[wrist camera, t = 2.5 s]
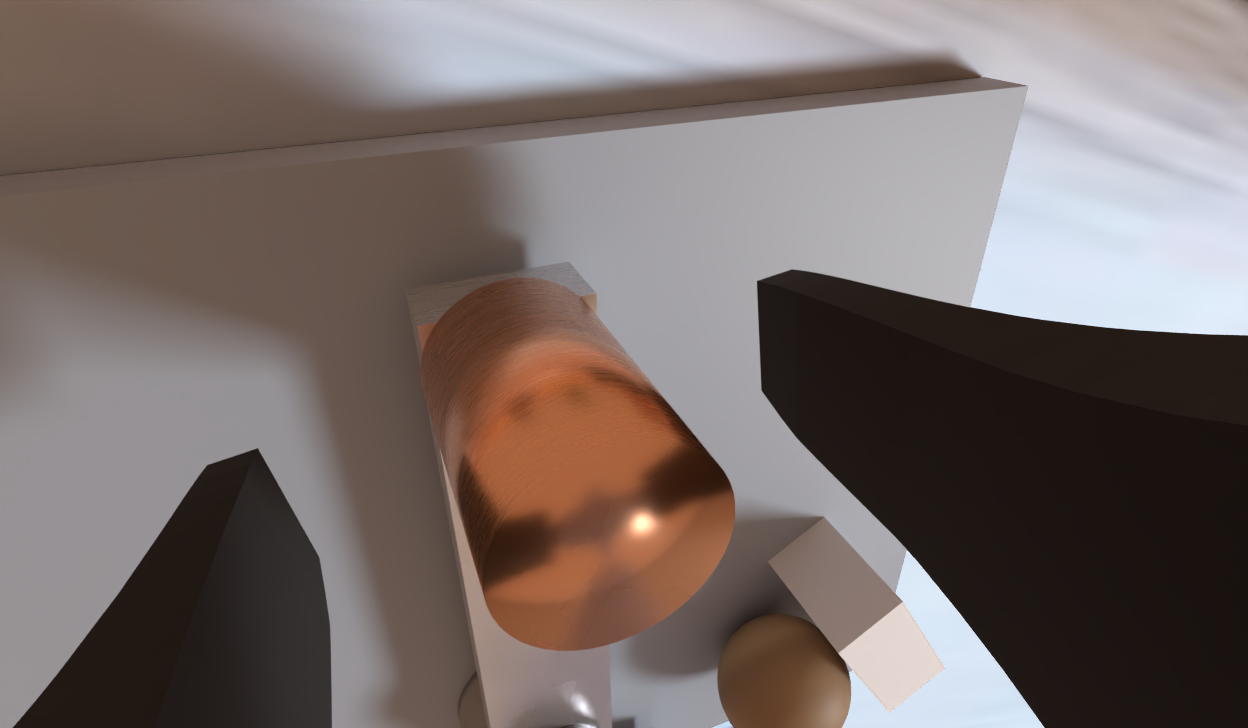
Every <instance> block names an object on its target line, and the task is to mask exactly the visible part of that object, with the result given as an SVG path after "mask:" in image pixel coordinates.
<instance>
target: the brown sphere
mask: <svg viewBox="0 0 1248 728" xmlns="http://www.w3.org/2000/svg"><path fill="white" fill-rule="evenodd" d="M717 684H718V692H719V697H720V701H721V704H722V707H723V710H724V712H725V714H726V716H727V718H728V720H729V721H730V723H731V724H732V726H733V727H734V728H842V726H843V724H844V722H845V720H846V717H847V715H848V711H849V707H850V701H851V681H850V676H849V672H848V668H847V665H846V663H845V661H844V659H843V658H842V657H841V656H840V655H839V654H838V652H837V651H836V650H835V648H834V647H833V646H832V645H831V643H830V642H829V641H828V639H827V638H826V637H825V635H824V634H823V633H822V632H821V630H820V629H819V628H818V627H817V626H815V625H814V624H812V623H811V622H809V621H807V620H805V619H802V618H800V617H796V616H793V615H787V614H770V615H764V616H761V617H758V618H755V619H753V620H751V621H749V622H747V623H746V624H744V625H743V626H741V627H740V628H739V629H738V630H737V631H736V632H735V633H734V634H733V635H732V636H731V638H730V639H729V640H728V642H727V644H726V646H725V648H724V650H723V652H722V654H721V658H720V661H719V666H718V673H717Z"/></svg>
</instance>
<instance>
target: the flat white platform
mask: <svg viewBox="0 0 1248 728" xmlns="http://www.w3.org/2000/svg"><path fill="white" fill-rule="evenodd" d="M1027 89H1028V86H1026V85H1021V84H1016V83H1011V82H1006V81H1001V80H996V79H991V78H986V77H982V78H972V79H962V80H952V81H942V82H932V83H922V84H912V85H902V86H892V87H882V88H873V89H863V90H853V91H843V92H833V93H823V94H813V95H803V96H793V97H783V98H773V99H763V100H753V101H743V102H733V103H723V104H713V105H703V106H693V107H683V108H673V109H663V110H653V111H643V112H633V113H623V114H613V115H603V116H593V117H583V118H573V119H563V120H553V121H543V122H533V123H523V124H513V125H503V126H493V127H483V128H473V129H463V130H453V131H443V132H433V133H423V134H413V135H403V136H393V137H383V138H373V139H363V140H353V141H343V142H333V143H323V144H313V145H303V146H293V147H283V148H273V149H263V150H253V151H243V152H233V153H223V154H213V155H203V156H193V157H183V158H173V159H163V160H153V161H143V162H133V163H123V164H113V165H103V166H93V167H83V168H73V169H63V170H53V171H43V172H33V173H23V174H13V175H3V176H0V728H13V727H14V726H15V724H16V723H17V722H18V721H19V720H20V718H21V717H22V716H23V715H24V714H25V713H26V711H27V710H28V709H29V708H30V707H31V705H32V704H33V703H34V702H35V701H36V699H37V698H38V697H39V696H40V695H41V693H42V692H43V691H44V690H45V689H46V687H47V686H48V685H49V684H50V682H51V681H52V680H53V679H54V677H55V676H56V675H57V674H58V672H59V671H60V670H61V668H62V667H63V666H64V665H65V663H66V662H67V661H68V659H69V658H70V657H71V655H72V654H73V653H74V651H75V650H76V649H77V647H78V646H79V645H80V643H81V642H82V641H83V639H84V638H85V637H86V636H87V634H88V633H89V632H90V630H91V629H92V628H93V626H94V625H95V624H96V622H97V621H98V620H99V618H100V617H101V616H102V614H103V613H104V612H105V610H106V609H107V608H108V607H109V605H110V604H111V603H112V601H113V600H114V599H115V597H116V596H117V595H118V593H119V592H120V590H121V589H122V588H123V586H124V585H125V583H126V582H127V580H128V579H129V577H130V576H131V575H132V573H133V572H134V570H135V569H136V567H137V566H138V564H139V563H140V562H141V560H142V559H143V557H144V556H145V554H146V553H147V551H148V550H149V549H150V547H151V546H152V544H153V543H154V541H155V540H156V538H157V537H158V535H159V534H160V532H161V531H162V530H163V528H164V527H165V525H166V524H167V522H168V521H169V519H170V518H171V516H172V515H173V513H174V512H175V510H176V509H177V507H178V506H179V504H180V503H181V501H182V500H183V498H184V497H185V495H186V494H187V492H188V491H189V489H190V488H191V486H192V485H193V483H194V482H195V481H196V479H197V478H198V476H199V475H200V474H201V472H202V471H203V470H204V469H205V467H206V466H207V465H209V464H212V463H215V462H218V461H221V460H224V459H227V458H230V457H233V456H236V455H239V454H242V453H245V452H248V451H251V450H254V449H257V448H258V449H259V451H260V453H261V455H262V456H263V458H264V460H265V462H266V463H267V465H268V467H269V469H270V471H271V472H272V474H273V476H274V478H275V479H276V481H277V483H278V485H279V487H280V488H281V490H282V492H283V494H284V495H285V497H286V499H287V501H288V503H289V504H290V506H291V508H292V510H293V511H294V513H295V515H296V517H297V518H298V520H299V522H300V524H301V526H302V527H303V529H304V531H305V533H306V534H307V536H308V538H309V540H310V542H311V543H312V545H313V547H314V549H315V550H316V552H317V554H318V556H319V558H320V564H321V570H322V576H323V582H324V587H325V593H326V600H327V607H328V614H329V621H330V637H331V686H332V728H487V725H486V719H485V714H484V709H483V703H482V698H481V693H480V687H479V682H478V677H477V671H476V666H475V661H474V655H473V650H472V645H471V639H470V634H469V628H468V623H467V618H466V612H465V607H464V602H463V596H462V591H461V586H460V580H459V575H458V570H457V564H456V559H455V553H454V548H453V543H452V537H451V532H450V527H449V521H448V516H447V511H446V505H445V500H444V495H443V489H442V484H441V479H440V473H439V468H438V462H437V457H436V452H435V446H434V441H433V436H432V430H431V425H430V420H429V414H428V409H427V404H426V400H425V396H424V393H423V389H422V386H421V377H420V366H419V361H418V355H417V350H416V345H415V339H414V334H413V329H412V323H411V318H410V313H409V307H408V302H407V297H406V291H405V289H407V288H413V287H419V286H425V285H431V284H437V283H443V282H449V281H455V280H461V279H467V278H474V277H480V276H486V275H492V274H498V273H504V272H510V271H516V270H522V269H528V268H534V267H540V266H546V265H552V264H558V263H564V262H570V263H571V264H572V266H573V267H574V268H575V269H576V270H577V271H578V272H579V274H580V275H581V276H582V277H583V278H584V279H585V281H586V282H587V283H588V284H589V285H590V286H591V287H592V289H593V290H594V291H595V292H596V293H597V316H598V318H599V319H600V320H601V321H602V322H603V324H604V325H605V326H606V327H607V329H608V330H609V331H610V332H611V333H612V335H613V336H614V337H615V338H616V340H617V341H618V342H619V343H620V344H621V346H622V347H623V348H624V349H625V351H626V352H627V353H628V354H629V355H630V357H631V358H632V359H633V360H634V362H635V363H636V364H637V365H638V366H639V368H640V369H641V370H642V371H643V373H644V374H645V375H646V376H647V377H648V379H649V380H650V381H651V382H652V384H653V385H654V386H655V387H656V388H657V390H658V391H659V392H660V393H661V395H662V396H663V397H664V398H665V399H666V401H667V402H668V403H669V404H670V406H671V407H672V408H673V409H674V410H675V412H676V413H677V414H678V415H679V417H680V418H681V419H682V420H683V421H684V423H685V424H686V425H687V426H688V428H689V429H690V430H691V431H692V432H693V434H694V435H695V436H696V437H697V439H698V440H699V441H700V442H701V444H702V445H703V446H704V447H705V448H706V450H707V451H708V452H709V453H710V455H711V456H712V457H713V458H714V459H715V461H716V462H717V463H718V464H719V466H720V467H721V468H722V469H723V470H724V472H725V474H726V475H727V477H728V479H729V481H730V483H731V486H732V489H733V492H734V498H735V521H734V527H733V531H732V535H731V538H730V541H729V544H728V546H727V548H726V551H725V553H724V555H723V557H722V558H721V560H720V562H719V564H718V565H717V567H716V568H715V570H714V571H713V573H712V574H711V575H710V577H709V578H708V580H707V581H706V582H705V583H704V584H703V585H702V586H701V588H700V589H699V590H698V591H697V592H696V593H695V594H694V595H693V596H692V597H691V598H690V599H689V600H688V601H687V602H685V603H684V604H683V605H682V606H681V607H679V608H678V609H677V610H676V611H675V612H673V613H672V614H670V615H669V616H667V617H666V618H665V619H663V620H662V621H660V622H658V623H657V624H655V625H653V626H652V627H650V628H648V629H646V630H644V631H642V632H640V633H638V634H636V635H634V636H632V637H629V638H626V639H624V640H621V641H619V642H616V643H612V644H609V652H610V680H611V707H612V728H651V727H653V728H712V727H714V726H717V725H719V724H722V723H724V722H727V721H729V720H728V718H727V716H726V714H725V712H724V710H723V707H722V704H721V701H720V697H719V692H718V684H717V673H718V666H719V661H720V658H721V654H722V652H723V650H724V648H725V646H726V644H727V642H728V640H729V639H730V638H731V636H732V635H733V634H734V633H735V632H736V631H737V630H738V629H739V628H740V627H741V626H743V625H744V624H746V623H747V622H749V621H751V620H753V619H755V618H758V617H761V616H764V615H770V614H787V615H793V616H796V617H800V618H802V619H805V620H807V621H809V622H811V623H812V624H814V625H815V626H817V627H818V628H819V629H820V630H821V632H822V633H823V634H824V635H825V637H826V638H827V639H828V641H829V642H830V643H831V645H832V646H833V647H834V648H835V650H836V651H837V652H838V654H839V655H840V656H841V657H842V658H843V659H844V661H845V663H846V665H847V668H848V672H850V671H852V670H853V671H854V672H855V673H856V675H857V676H858V677H859V678H860V679H861V680H862V682H863V683H864V684H865V685H866V686H867V687H868V689H869V690H870V691H871V692H872V693H873V694H874V696H875V697H876V698H877V699H878V700H879V701H880V703H881V704H882V705H883V706H884V707H885V708H886V710H887V711H888V712H891V711H892V710H893V709H894V708H896V707H897V706H898V705H899V704H901V703H902V702H903V701H904V700H906V699H907V698H908V697H910V696H911V695H912V694H913V693H915V692H916V691H917V690H918V689H920V688H921V687H922V686H923V685H925V684H926V683H927V682H928V681H930V680H931V679H932V678H933V677H935V676H936V675H937V674H938V673H940V672H941V671H942V670H943V669H945V667H944V665H943V664H942V662H941V661H940V659H939V658H938V656H937V654H936V653H935V651H934V650H933V648H932V647H931V645H930V643H929V642H928V640H927V639H926V637H925V636H924V634H923V632H922V631H921V629H920V628H919V626H918V625H917V623H916V622H915V620H914V618H913V617H912V615H911V614H910V612H909V611H908V609H907V607H906V606H905V604H904V603H903V601H902V600H901V599H900V598H899V597H898V596H897V595H896V594H895V592H896V588H897V585H898V581H899V577H900V573H901V569H902V565H903V562H904V558H905V554H906V550H907V549H906V548H905V547H904V546H903V545H902V544H901V543H900V542H899V541H898V539H897V538H896V537H895V536H894V535H893V534H892V533H891V532H890V531H889V530H888V529H887V528H886V527H885V526H884V525H883V524H882V523H881V522H880V521H879V520H878V519H877V518H876V517H875V516H874V515H873V514H872V513H871V512H870V511H869V510H868V509H867V508H866V507H865V506H863V505H862V504H861V503H860V502H859V501H858V500H857V499H856V498H855V497H854V496H853V495H852V494H851V493H850V492H849V491H848V490H847V489H846V488H845V487H844V486H843V485H842V484H841V483H840V482H839V481H838V480H837V479H836V478H835V477H834V476H833V475H832V474H831V473H830V472H829V471H828V470H827V469H826V468H825V467H824V466H823V465H822V464H821V463H820V462H819V461H818V460H817V459H816V458H815V457H814V456H813V455H812V453H811V452H810V451H809V450H808V449H807V448H806V447H805V446H804V445H803V444H802V443H801V442H800V441H799V440H798V439H797V438H796V437H795V435H794V434H793V433H792V431H791V430H790V429H789V428H788V426H787V425H786V424H785V422H784V421H783V420H782V419H781V417H780V416H779V414H778V413H777V412H776V410H775V409H774V407H773V406H772V405H771V403H770V402H769V400H768V399H767V398H766V396H765V395H764V393H763V392H762V391H761V369H760V345H759V321H758V298H757V281H758V280H761V279H764V278H767V277H770V276H773V275H776V274H779V273H782V272H785V271H788V270H791V269H794V270H802V271H809V272H815V273H820V274H825V275H830V276H834V277H839V278H843V279H848V280H852V281H856V282H860V283H865V284H869V285H873V286H877V287H881V288H886V289H890V290H894V291H898V292H902V293H907V294H911V295H915V296H920V297H924V298H929V299H933V300H937V301H942V302H947V303H952V304H956V305H961V306H966V307H970V306H971V302H972V298H973V295H974V291H975V287H976V283H977V279H978V276H979V272H980V268H981V264H982V260H983V257H984V253H985V249H986V245H987V241H988V237H989V234H990V230H991V226H992V222H993V218H994V215H995V211H996V207H997V203H998V199H999V195H1000V192H1001V188H1002V184H1003V180H1004V176H1005V173H1006V169H1007V165H1008V161H1009V157H1010V154H1011V150H1012V146H1013V142H1014V138H1015V134H1016V131H1017V127H1018V123H1019V119H1020V115H1021V112H1022V108H1023V104H1024V100H1025V96H1026V92H1027Z"/></svg>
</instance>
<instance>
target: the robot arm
mask: <svg viewBox="0 0 1248 728" xmlns="http://www.w3.org/2000/svg"><path fill="white" fill-rule="evenodd" d="M757 298H758V321H759V345H760V369H761V391H762V392H763V393H764V395H765V396H766V398H767V399H768V400H769V402H770V403H771V405H772V406H773V407H774V409H775V410H776V412H777V413H778V414H779V416H780V417H781V419H782V420H783V421H784V422H785V424H786V425H787V426H788V428H789V429H790V430H791V431H792V433H793V434H794V435H795V437H796V438H797V439H798V440H799V441H800V442H801V443H802V444H803V445H804V446H805V447H806V448H807V449H808V450H809V451H810V452H811V453H812V455H813V456H814V457H815V458H816V459H817V460H818V461H819V462H820V463H821V464H822V465H823V466H824V467H825V468H826V469H827V470H828V471H829V472H830V473H831V474H832V475H833V476H834V477H835V478H836V479H837V480H838V481H839V482H840V483H841V484H842V485H843V486H844V487H845V488H846V489H847V490H848V491H849V492H850V493H851V494H852V495H853V496H854V497H855V498H856V499H857V500H858V501H859V502H860V503H861V504H862V505H863V506H865V507H866V508H867V509H868V510H869V511H870V512H871V513H872V514H873V515H874V516H875V517H876V518H877V519H878V520H879V521H880V522H881V523H882V524H883V525H884V526H885V527H886V528H887V529H888V530H889V531H890V532H891V533H892V534H893V535H894V536H895V537H896V538H897V539H898V541H899V542H900V543H901V544H902V545H903V546H904V547H905V548H906V549H907V550H908V551H909V552H910V554H911V555H912V556H913V557H914V558H915V559H916V560H917V561H918V562H919V564H920V565H921V566H922V567H923V569H924V570H925V571H926V572H927V573H928V575H929V576H930V577H931V578H932V580H933V581H934V582H935V583H936V585H937V586H938V587H939V588H940V589H941V591H942V592H943V593H944V594H945V596H946V597H947V598H948V599H949V601H950V602H951V603H952V604H953V605H954V607H955V608H956V609H957V610H958V612H959V613H960V614H961V615H962V617H963V618H964V619H965V621H966V622H967V623H968V625H969V626H970V627H971V628H972V630H973V631H974V632H975V634H976V635H977V636H978V638H979V639H980V640H981V642H982V643H983V644H984V645H985V647H986V648H987V649H988V651H989V652H990V653H991V655H992V656H993V657H994V658H995V660H996V661H997V662H998V664H999V665H1000V666H1001V668H1002V669H1003V670H1004V672H1005V673H1006V674H1007V676H1008V677H1009V679H1010V680H1011V681H1012V683H1013V684H1014V686H1015V687H1016V688H1017V690H1018V691H1019V693H1020V694H1021V695H1022V697H1023V698H1024V700H1025V701H1026V702H1027V704H1028V705H1029V706H1030V708H1031V709H1032V711H1033V712H1034V713H1035V715H1036V716H1037V718H1038V719H1039V720H1040V722H1041V723H1042V725H1043V726H1044V727H1045V728H1248V336H1245V335H1208V334H1189V333H1172V332H1155V331H1139V330H1127V329H1116V328H1105V327H1096V326H1087V325H1079V324H1071V323H1063V322H1055V321H1047V320H1040V319H1033V318H1027V317H1020V316H1014V315H1009V314H1003V313H998V312H992V311H987V310H982V309H976V308H971V307H966V306H961V305H956V304H952V303H947V302H942V301H937V300H933V299H929V298H924V297H920V296H915V295H911V294H907V293H902V292H898V291H894V290H890V289H886V288H881V287H877V286H873V285H869V284H865V283H860V282H856V281H852V280H848V279H843V278H839V277H834V276H830V275H825V274H820V273H815V272H809V271H802V270H794V269H791V270H788V271H785V272H782V273H779V274H776V275H773V276H770V277H767V278H764V279H761V280H758V281H757ZM13 728H332V686H331V637H330V621H329V614H328V607H327V600H326V593H325V587H324V582H323V576H322V570H321V564H320V558H319V556H318V554H317V552H316V550H315V549H314V547H313V545H312V543H311V542H310V540H309V538H308V536H307V534H306V533H305V531H304V529H303V527H302V526H301V524H300V522H299V520H298V518H297V517H296V515H295V513H294V511H293V510H292V508H291V506H290V504H289V503H288V501H287V499H286V497H285V495H284V494H283V492H282V490H281V488H280V487H279V485H278V483H277V481H276V479H275V478H274V476H273V474H272V472H271V471H270V469H269V467H268V465H267V463H266V462H265V460H264V458H263V456H262V455H261V453H260V451H259V449H258V448H257V449H254V450H251V451H248V452H245V453H242V454H239V455H236V456H233V457H230V458H227V459H224V460H221V461H218V462H215V463H212V464H209V465H207V466H206V467H205V469H204V470H203V471H202V472H201V474H200V475H199V476H198V478H197V479H196V481H195V482H194V483H193V485H192V486H191V488H190V489H189V491H188V492H187V494H186V495H185V497H184V498H183V500H182V501H181V503H180V504H179V506H178V507H177V509H176V510H175V512H174V513H173V515H172V516H171V518H170V519H169V521H168V522H167V524H166V525H165V527H164V528H163V530H162V531H161V532H160V534H159V535H158V537H157V538H156V540H155V541H154V543H153V544H152V546H151V547H150V549H149V550H148V551H147V553H146V554H145V556H144V557H143V559H142V560H141V562H140V563H139V564H138V566H137V567H136V569H135V570H134V572H133V573H132V575H131V576H130V577H129V579H128V580H127V582H126V583H125V585H124V586H123V588H122V589H121V590H120V592H119V593H118V595H117V596H116V597H115V599H114V600H113V601H112V603H111V604H110V605H109V607H108V608H107V609H106V610H105V612H104V613H103V614H102V616H101V617H100V618H99V620H98V621H97V622H96V624H95V625H94V626H93V628H92V629H91V630H90V632H89V633H88V634H87V636H86V637H85V638H84V639H83V641H82V642H81V643H80V645H79V646H78V647H77V649H76V650H75V651H74V653H73V654H72V655H71V657H70V658H69V659H68V661H67V662H66V663H65V665H64V666H63V667H62V668H61V670H60V671H59V672H58V674H57V675H56V676H55V677H54V679H53V680H52V681H51V682H50V684H49V685H48V686H47V687H46V689H45V690H44V691H43V692H42V693H41V695H40V696H39V697H38V698H37V699H36V701H35V702H34V703H33V704H32V705H31V707H30V708H29V709H28V710H27V711H26V713H25V714H24V715H23V716H22V717H21V718H20V720H19V721H18V722H17V723H16V724H15V726H14V727H13Z"/></svg>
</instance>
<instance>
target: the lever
mask: <svg viewBox="0 0 1248 728" xmlns="http://www.w3.org/2000/svg"><path fill="white" fill-rule="evenodd" d="M405 291H406V297H407V302H408V307H409V313H410V318H411V323H412V329H413V334H414V339H415V345H416V350H417V355H418V361H419V366H420V377H421V386H422V389H423V393H424V396H425V400H426V404H427V409H428V414H429V420H430V425H431V430H432V436H433V441H434V446H435V452H436V457H437V462H438V468H439V473H440V479H441V484H442V489H443V495H444V500H445V505H446V511H447V516H448V521H449V527H450V532H451V537H452V543H453V548H454V553H455V559H456V564H457V570H458V575H459V580H460V586H461V591H462V596H463V602H464V607H465V612H466V618H467V623H468V628H469V634H470V639H471V645H472V650H473V655H474V661H475V666H476V671H477V677H478V682H479V687H480V693H481V698H482V703H483V709H484V714H485V719H486V725H487V728H612V707H611V680H610V652H609V644H612V643H616V642H619V641H621V640H624V639H626V638H629V637H632V636H634V635H636V634H638V633H640V632H642V631H644V630H646V629H648V628H650V627H652V626H653V625H655V624H657V623H658V622H660V621H662V620H663V619H665V618H666V617H667V616H669V615H670V614H672V613H673V612H675V611H676V610H677V609H678V608H679V607H681V606H682V605H683V604H684V603H685V602H687V601H688V600H689V599H690V598H691V597H692V596H693V595H694V594H695V593H696V592H697V591H698V590H699V589H700V588H701V586H702V585H703V584H704V583H705V582H706V581H707V580H708V578H709V577H710V575H711V574H712V573H713V571H714V570H715V568H716V567H717V565H718V564H719V562H720V560H721V558H722V557H723V555H724V553H725V551H726V548H727V546H728V544H729V541H730V538H731V535H732V531H733V527H734V521H735V498H734V492H733V489H732V486H731V483H730V481H729V479H728V477H727V475H726V474H725V472H724V470H723V469H722V468H721V467H720V466H719V464H718V463H717V462H716V461H715V459H714V458H713V457H712V456H711V455H710V453H709V452H708V451H707V450H706V448H705V447H704V446H703V445H702V444H701V442H700V441H699V440H698V439H697V437H696V436H695V435H694V434H693V432H692V431H691V430H690V429H689V428H688V426H687V425H686V424H685V423H684V421H683V420H682V419H681V418H680V417H679V415H678V414H677V413H676V412H675V410H674V409H673V408H672V407H671V406H670V404H669V403H668V402H667V401H666V399H665V398H664V397H663V396H662V395H661V393H660V392H659V391H658V390H657V388H656V387H655V386H654V385H653V384H652V382H651V381H650V380H649V379H648V377H647V376H646V375H645V374H644V373H643V371H642V370H641V369H640V368H639V366H638V365H637V364H636V363H635V362H634V360H633V359H632V358H631V357H630V355H629V354H628V353H627V352H626V351H625V349H624V348H623V347H622V346H621V344H620V343H619V342H618V341H617V340H616V338H615V337H614V336H613V335H612V333H611V332H610V331H609V330H608V329H607V327H606V326H605V325H604V324H603V322H602V321H601V320H600V319H599V318H598V316H597V293H596V292H595V291H594V290H593V289H592V287H591V286H590V285H589V284H588V283H587V282H586V281H585V279H584V278H583V277H582V276H581V275H580V274H579V272H578V271H577V270H576V269H575V268H574V267H573V266H572V264H571V263H570V262H564V263H558V264H552V265H546V266H540V267H534V268H528V269H522V270H516V271H510V272H504V273H498V274H492V275H486V276H480V277H474V278H467V279H461V280H455V281H449V282H443V283H437V284H431V285H425V286H419V287H413V288H407V289H405ZM651 728H653V727H651Z"/></svg>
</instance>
